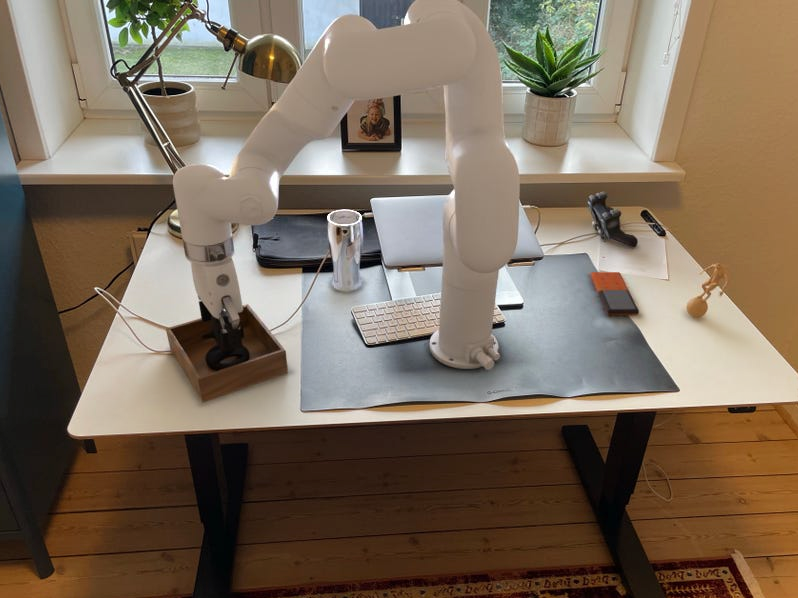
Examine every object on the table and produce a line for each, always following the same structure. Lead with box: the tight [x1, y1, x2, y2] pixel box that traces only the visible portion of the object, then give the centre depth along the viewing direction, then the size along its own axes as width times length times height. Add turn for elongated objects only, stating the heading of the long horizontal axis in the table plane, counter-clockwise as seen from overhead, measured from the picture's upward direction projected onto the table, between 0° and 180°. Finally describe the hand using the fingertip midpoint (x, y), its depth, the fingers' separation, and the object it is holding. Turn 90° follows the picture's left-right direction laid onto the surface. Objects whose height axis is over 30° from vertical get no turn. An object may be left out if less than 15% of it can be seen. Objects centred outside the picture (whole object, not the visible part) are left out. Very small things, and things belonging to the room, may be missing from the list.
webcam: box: [201, 309, 250, 371], centre depth 128 cm, size 8×8×10 cm
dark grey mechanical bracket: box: [586, 191, 639, 249], centre depth 172 cm, size 16×7×10 cm, turn 10°
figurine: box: [685, 262, 730, 318], centre depth 145 cm, size 8×6×12 cm
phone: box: [589, 271, 640, 316], centre depth 152 cm, size 6×1×15 cm
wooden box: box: [165, 303, 289, 403], centre depth 129 cm, size 16×15×5 cm
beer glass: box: [326, 209, 364, 293], centre depth 148 cm, size 7×7×15 cm
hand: (221, 333), depth 127 cm, fingers open, 9 cm apart
